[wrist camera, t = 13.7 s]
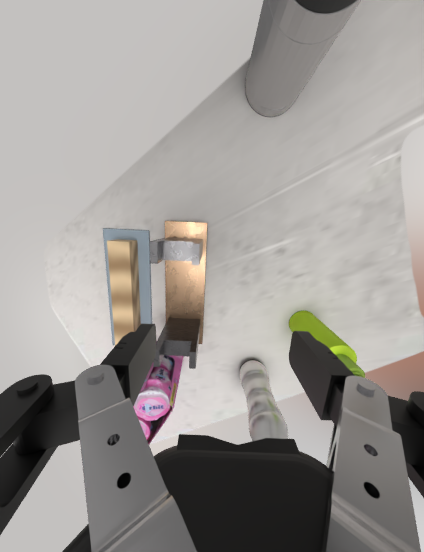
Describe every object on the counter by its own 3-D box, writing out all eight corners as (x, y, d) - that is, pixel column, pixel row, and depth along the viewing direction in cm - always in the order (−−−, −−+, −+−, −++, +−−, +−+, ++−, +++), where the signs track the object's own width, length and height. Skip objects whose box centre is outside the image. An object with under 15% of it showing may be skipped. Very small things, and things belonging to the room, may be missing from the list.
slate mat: (103, 228, 39) (102, 228, 39) (149, 230, 39) (148, 230, 39) (113, 343, 46) (112, 344, 45) (152, 345, 46) (152, 346, 45)
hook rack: (166, 221, 39) (144, 218, 26) (207, 223, 39) (204, 221, 26) (167, 338, 45) (150, 382, 33) (202, 340, 45) (198, 384, 33)
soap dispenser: (283, 334, 45) (337, 417, 26) (294, 307, 43) (361, 373, 24) (307, 341, 45) (378, 427, 26) (319, 314, 44) (405, 384, 24)
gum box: (156, 335, 45) (136, 383, 32) (187, 350, 46) (180, 402, 33) (113, 409, 50) (81, 476, 37) (142, 420, 51) (121, 488, 38)
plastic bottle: (265, 356, 46) (304, 449, 27) (264, 380, 48) (299, 485, 29) (238, 356, 46) (256, 449, 27) (237, 380, 48) (254, 485, 29)
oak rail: (117, 239, 39) (106, 240, 35) (137, 240, 39) (129, 241, 36) (123, 337, 45) (115, 348, 41) (141, 338, 45) (134, 349, 41)
